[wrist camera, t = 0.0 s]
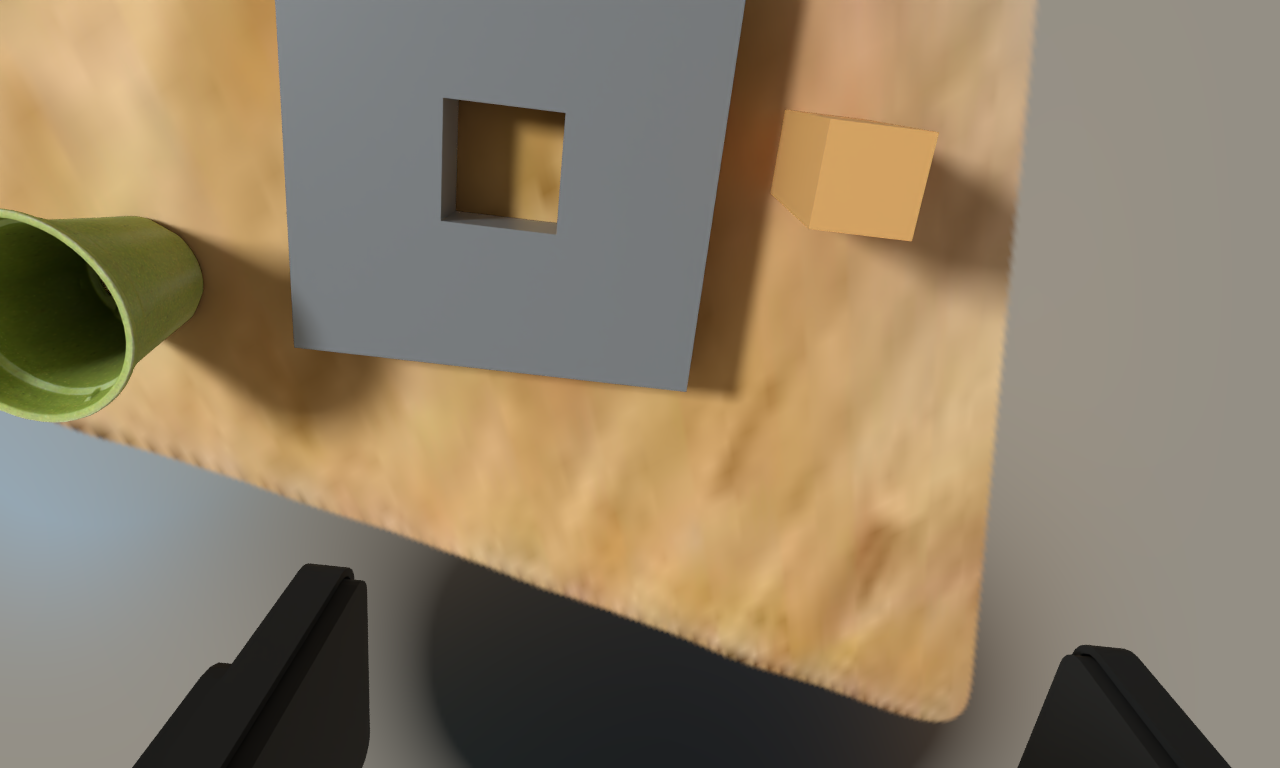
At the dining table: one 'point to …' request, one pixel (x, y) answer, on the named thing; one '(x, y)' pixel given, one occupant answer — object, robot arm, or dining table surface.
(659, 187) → the socket plate
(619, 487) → the dining table surface
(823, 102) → the dining table surface
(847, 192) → the plug
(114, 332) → the plant pot
